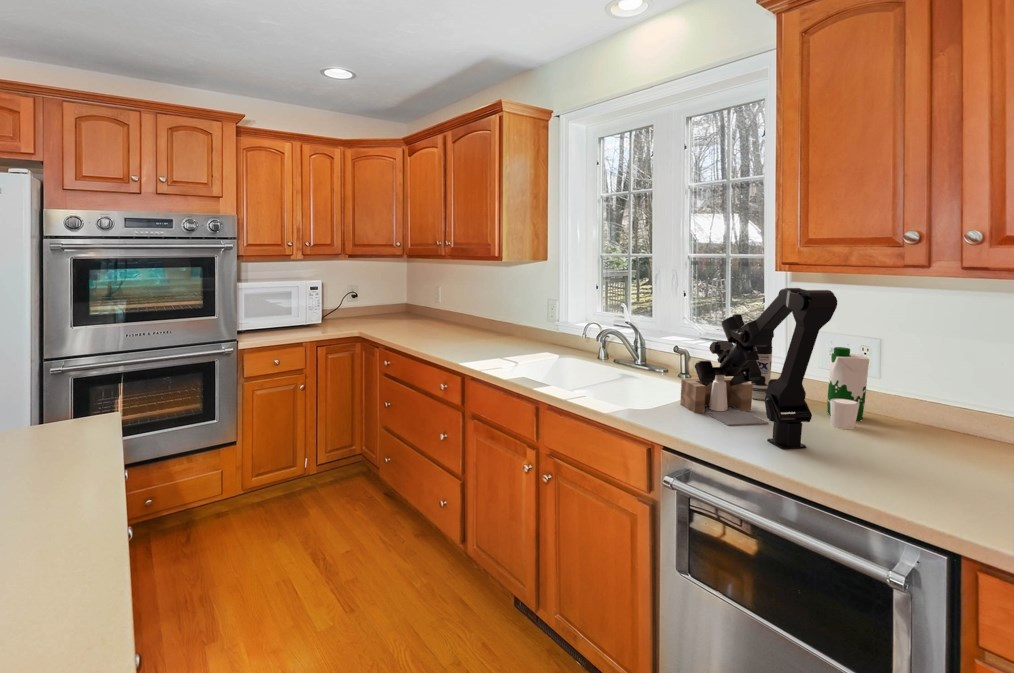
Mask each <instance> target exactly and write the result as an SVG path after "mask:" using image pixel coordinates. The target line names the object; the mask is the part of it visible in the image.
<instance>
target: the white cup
mask: <svg viewBox="0 0 1014 673" xmlns="http://www.w3.org/2000/svg"><path fill="white" fill-rule="evenodd" d="M859 404H860V403H859V402H856V401H853V400H848V399H831V400H830V410H831V416H830V426H831V425H832V427H833V426H834V428H836V427H837V429H840V428H843V429H842V430H853V429H852V428H854V427H856V424H857V421H856V418H857V414H858V409H859ZM854 429H855V428H854Z"/></svg>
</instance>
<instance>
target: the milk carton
mask: <svg viewBox="0 0 1014 673" xmlns="http://www.w3.org/2000/svg"><path fill="white" fill-rule="evenodd" d="M869 363H870V358H868V357H866V356H864V355H863V354H859V353H858V354H855V353H854V354H853V353H851V348H850V347H842V346H840V347H839V346H836V347H833V352H831V353H830V362H829V364H830V365H829V378H828V388H827V390H828V391H827V401H826V404H827V410H826V412H828V413H829V414H830V415H831V410H830V400H831V399H848V400H853V401H856V402H859V403H860V404H859V409H858V414H857V418H856V420H862V421H863V417H864V416H863V415H864V410H865V405H866V397H867V396H866V394H867V385H868V371H869ZM828 413H827V414H828ZM829 414H828V415H829ZM830 415H829V416H830Z"/></svg>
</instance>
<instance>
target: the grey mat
mask: <svg viewBox="0 0 1014 673" xmlns="http://www.w3.org/2000/svg"><path fill="white" fill-rule="evenodd" d="M706 414H707V415H708V416H710V417H712V418H713V417H714V419H715V420H717V421H719V422H721V423H722V424H724V425H726V426H728V427H733V426H734V427H735V426H755V425H757V426H758V425H769V423H770V422H768V421H767V420H765V419H762V418H761V417H758V416H756V415H754V414H752V413H750V412H747V411H741V410H736V411H712V412H711V411H709V412H706Z"/></svg>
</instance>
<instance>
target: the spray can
mask: <svg viewBox="0 0 1014 673" xmlns="http://www.w3.org/2000/svg"><path fill="white" fill-rule="evenodd" d="M756 348H757V351H758V356H759V360H756V361H757V362H758V365H759V367H760V369H761V372H762V376H761V378H760V379H759V380H754V381H750V382H748V383H750V384H753V389H752V400H756V399H757V400H758V401H765V397H766V393H765V392H766V390H767V388H768V383H769V381H770V379H772V378H771V374H772V364H773V363H772V361H773V360H772V359H773V339H772V340H771V342H770V343H769V344H768V345H767V346H765V347H756ZM757 400H756V401H757Z"/></svg>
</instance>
